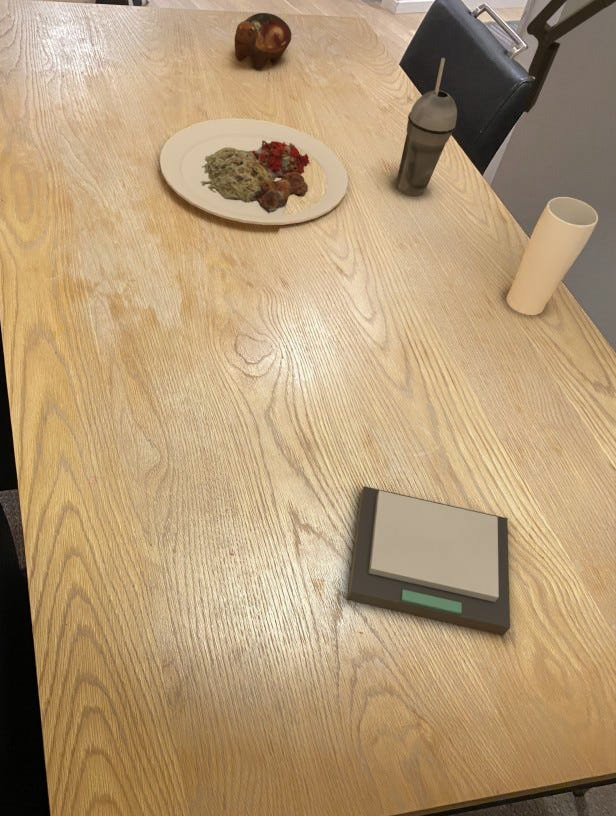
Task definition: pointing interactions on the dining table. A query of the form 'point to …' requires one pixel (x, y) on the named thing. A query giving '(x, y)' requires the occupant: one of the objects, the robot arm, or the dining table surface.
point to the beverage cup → (425, 138)
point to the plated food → (249, 170)
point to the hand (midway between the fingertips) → (584, 128)
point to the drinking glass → (551, 252)
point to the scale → (431, 561)
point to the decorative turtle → (262, 39)
